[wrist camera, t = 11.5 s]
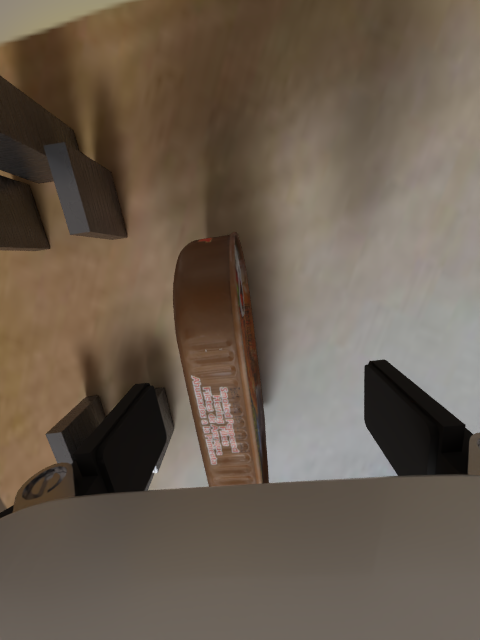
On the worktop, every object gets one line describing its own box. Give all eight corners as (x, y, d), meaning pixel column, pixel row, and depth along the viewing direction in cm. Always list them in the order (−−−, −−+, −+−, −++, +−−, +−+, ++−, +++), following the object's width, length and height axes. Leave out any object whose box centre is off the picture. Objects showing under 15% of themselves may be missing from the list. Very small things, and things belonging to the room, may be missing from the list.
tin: (266, 430, 20) (285, 556, 11) (228, 434, 20) (219, 562, 12) (242, 237, 16) (246, 218, 7) (195, 243, 16) (147, 232, 8)
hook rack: (99, 126, 14) (-74, -35, 6) (180, 453, 20) (142, 577, 12) (-3, 142, 14) (-294, 7, 6) (108, 461, 20) (26, 588, 12)
